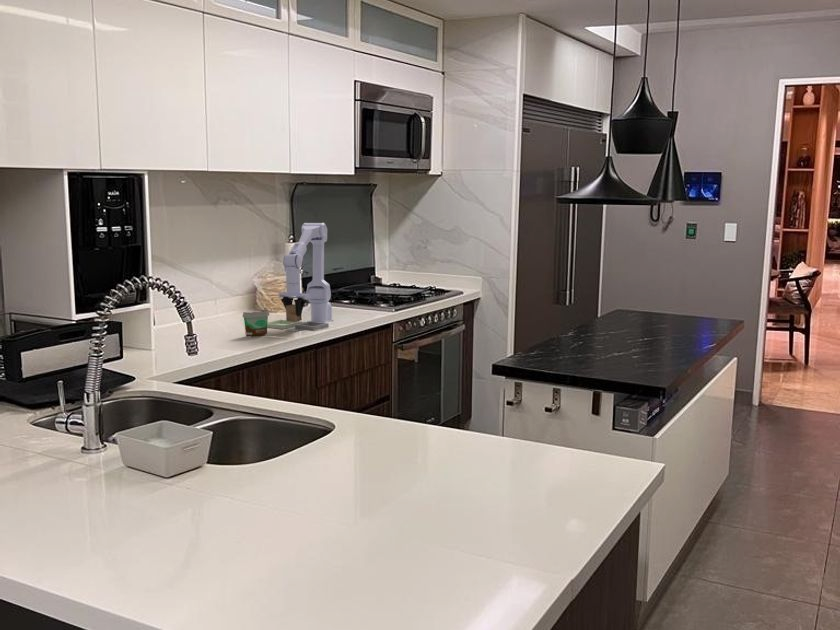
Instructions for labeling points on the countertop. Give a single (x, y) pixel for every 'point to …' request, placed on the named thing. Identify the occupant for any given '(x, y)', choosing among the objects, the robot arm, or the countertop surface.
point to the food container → (256, 323)
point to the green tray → (282, 324)
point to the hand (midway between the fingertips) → (294, 315)
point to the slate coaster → (294, 330)
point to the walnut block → (292, 313)
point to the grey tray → (312, 326)
